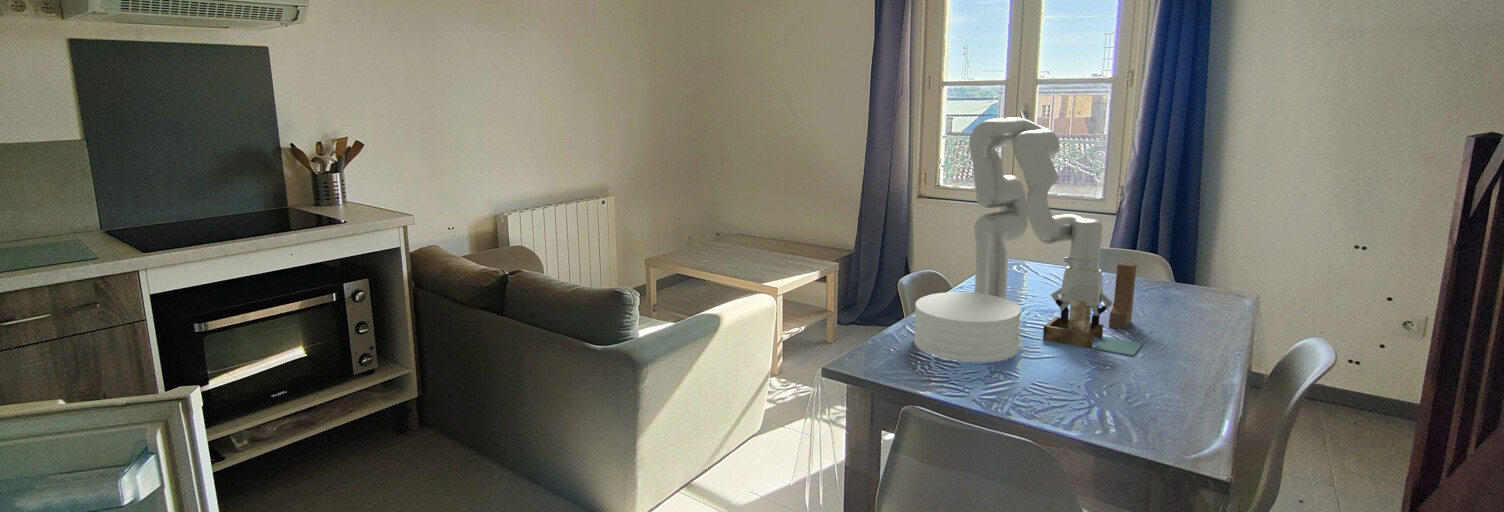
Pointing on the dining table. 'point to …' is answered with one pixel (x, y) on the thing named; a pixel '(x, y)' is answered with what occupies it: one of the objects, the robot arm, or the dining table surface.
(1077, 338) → the crate
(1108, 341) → the mat
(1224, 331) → the dining table surface
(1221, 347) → the dining table surface
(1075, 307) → the birch block
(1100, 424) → the dining table surface
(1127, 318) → the wooden block
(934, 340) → the plate stack
